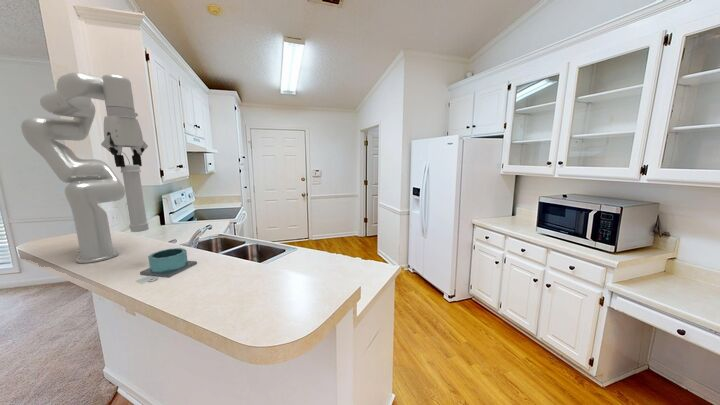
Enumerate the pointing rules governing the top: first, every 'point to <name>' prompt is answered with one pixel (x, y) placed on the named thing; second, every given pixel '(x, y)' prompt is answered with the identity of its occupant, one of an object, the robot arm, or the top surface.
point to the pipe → (134, 197)
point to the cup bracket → (168, 263)
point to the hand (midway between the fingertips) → (129, 165)
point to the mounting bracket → (147, 279)
